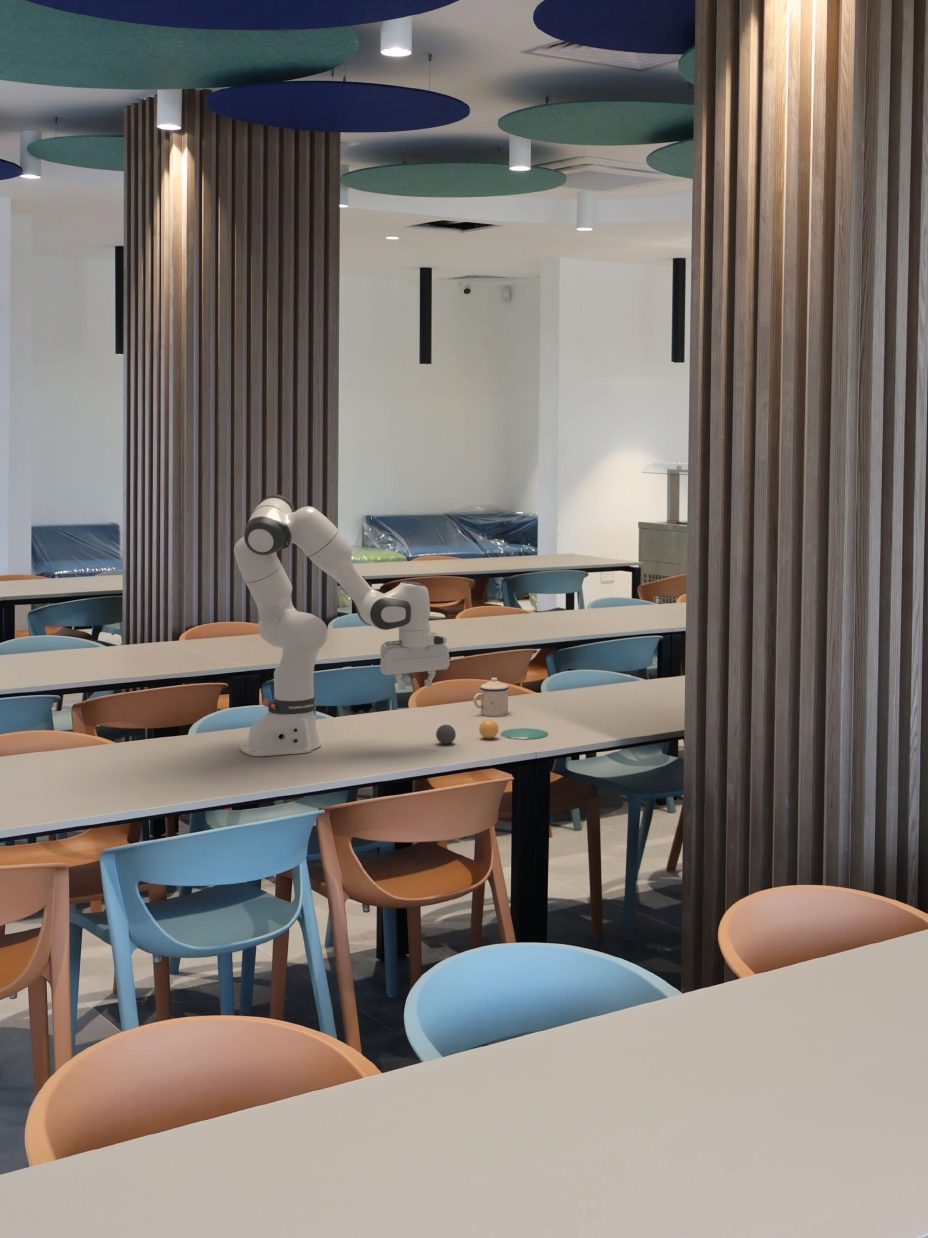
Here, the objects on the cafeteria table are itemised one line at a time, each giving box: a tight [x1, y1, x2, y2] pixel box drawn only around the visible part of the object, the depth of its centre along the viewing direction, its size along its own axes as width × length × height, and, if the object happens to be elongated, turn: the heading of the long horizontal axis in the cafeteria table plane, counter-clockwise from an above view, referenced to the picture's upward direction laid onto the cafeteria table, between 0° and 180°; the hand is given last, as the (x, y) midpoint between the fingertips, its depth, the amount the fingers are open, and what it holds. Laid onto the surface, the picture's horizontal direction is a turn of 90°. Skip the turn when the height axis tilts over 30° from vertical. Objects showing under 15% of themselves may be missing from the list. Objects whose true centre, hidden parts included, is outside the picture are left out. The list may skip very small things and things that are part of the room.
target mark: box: [500, 727, 549, 740], centre depth 376 cm, size 14×14×1 cm
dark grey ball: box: [435, 724, 457, 745], centre depth 364 cm, size 6×6×6 cm
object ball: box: [478, 719, 499, 740], centre depth 371 cm, size 6×6×6 cm
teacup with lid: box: [473, 677, 509, 718], centre depth 404 cm, size 12×9×12 cm
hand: (415, 687), depth 358 cm, fingers open, 7 cm apart
